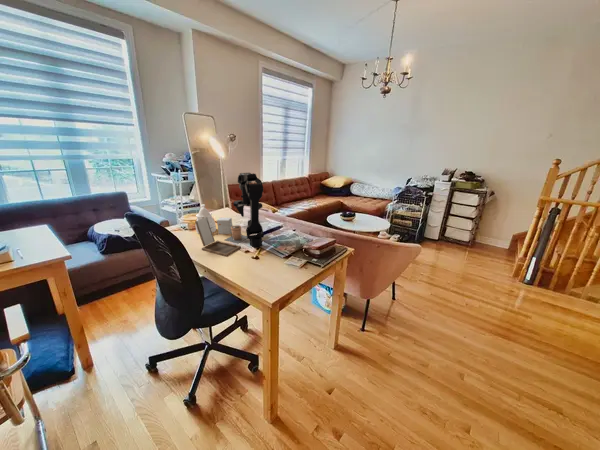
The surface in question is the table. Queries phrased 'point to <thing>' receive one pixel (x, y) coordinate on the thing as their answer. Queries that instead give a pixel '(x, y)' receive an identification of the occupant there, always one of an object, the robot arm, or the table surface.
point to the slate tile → (236, 240)
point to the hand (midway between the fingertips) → (248, 217)
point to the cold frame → (221, 248)
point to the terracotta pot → (236, 232)
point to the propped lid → (205, 231)
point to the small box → (224, 225)
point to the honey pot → (205, 213)
